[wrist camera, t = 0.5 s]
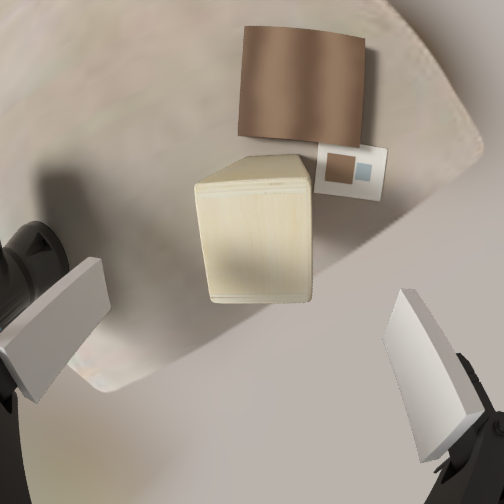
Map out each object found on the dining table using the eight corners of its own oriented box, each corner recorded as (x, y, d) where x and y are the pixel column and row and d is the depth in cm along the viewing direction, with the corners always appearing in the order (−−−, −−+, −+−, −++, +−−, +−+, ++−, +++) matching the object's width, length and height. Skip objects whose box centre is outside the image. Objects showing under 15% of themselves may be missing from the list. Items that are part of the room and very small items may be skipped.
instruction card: (313, 192, 35) (313, 192, 35) (318, 138, 33) (319, 138, 32) (379, 201, 35) (380, 201, 34) (386, 149, 32) (387, 149, 32)
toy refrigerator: (239, 155, 35) (180, 185, 15) (298, 152, 34) (315, 177, 14) (244, 215, 38) (200, 306, 19) (300, 213, 37) (314, 306, 18)
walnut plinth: (241, 135, 34) (237, 135, 31) (247, 33, 28) (244, 26, 25) (353, 147, 32) (359, 148, 30) (359, 45, 27) (365, 38, 24)
